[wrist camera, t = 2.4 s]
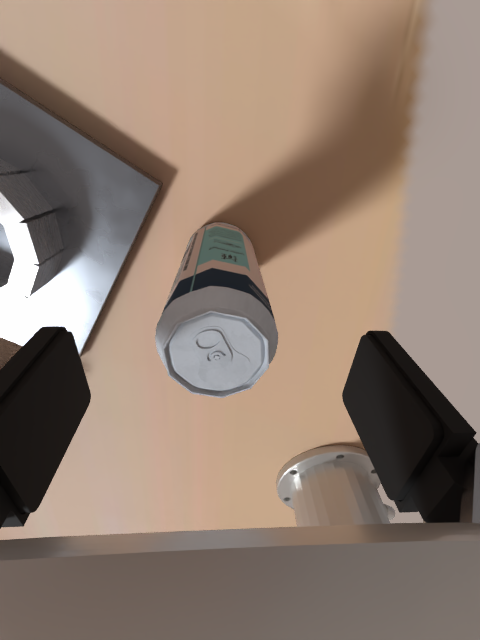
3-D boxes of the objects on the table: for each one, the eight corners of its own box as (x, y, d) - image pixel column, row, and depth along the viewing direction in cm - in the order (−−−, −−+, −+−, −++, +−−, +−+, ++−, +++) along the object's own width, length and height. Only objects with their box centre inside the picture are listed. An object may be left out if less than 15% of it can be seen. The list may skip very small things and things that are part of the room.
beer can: (204, 294, 22) (187, 418, 12) (174, 237, 20) (122, 329, 10) (262, 271, 22) (298, 383, 11) (239, 209, 19) (256, 277, 9)
